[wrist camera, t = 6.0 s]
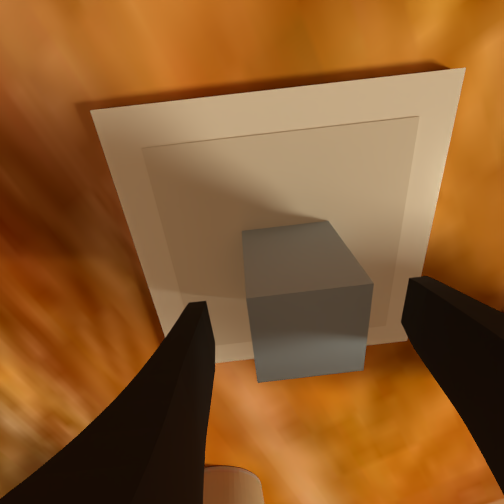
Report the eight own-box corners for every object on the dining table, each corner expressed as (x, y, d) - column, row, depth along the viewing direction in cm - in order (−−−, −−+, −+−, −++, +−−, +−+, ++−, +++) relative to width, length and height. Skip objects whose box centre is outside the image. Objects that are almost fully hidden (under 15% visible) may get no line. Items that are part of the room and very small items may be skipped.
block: (328, 220, 14) (373, 283, 9) (326, 290, 16) (363, 370, 11) (241, 230, 14) (245, 298, 9) (250, 299, 15) (257, 382, 11)
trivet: (452, 68, 12) (467, 67, 11) (400, 331, 18) (407, 341, 18) (98, 109, 12) (89, 110, 11) (177, 357, 18) (174, 368, 18)
